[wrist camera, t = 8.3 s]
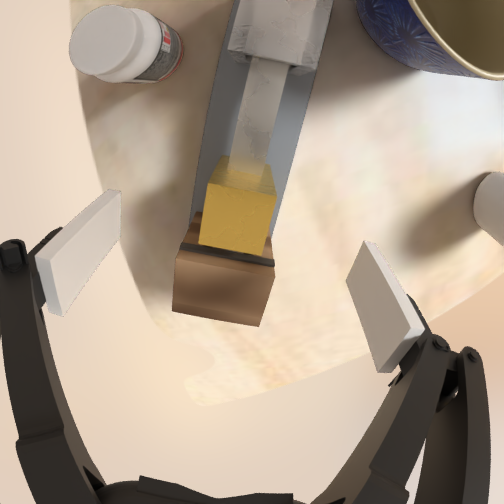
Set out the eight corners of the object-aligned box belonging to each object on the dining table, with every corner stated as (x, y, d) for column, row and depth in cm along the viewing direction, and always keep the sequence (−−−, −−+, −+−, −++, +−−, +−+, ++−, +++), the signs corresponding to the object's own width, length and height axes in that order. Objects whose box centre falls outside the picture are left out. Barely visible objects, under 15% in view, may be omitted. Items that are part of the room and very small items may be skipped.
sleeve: (255, -14, 17) (256, -51, 10) (317, 0, 17) (340, -31, 11) (234, 63, 21) (227, 49, 14) (297, 76, 21) (316, 69, 15)
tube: (256, 7, 17) (257, -30, 10) (306, 19, 17) (331, -13, 10) (205, 248, 28) (190, 304, 21) (247, 256, 28) (245, 313, 21)
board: (240, -17, 17) (240, -19, 16) (331, 4, 18) (333, 3, 17) (186, 252, 30) (185, 255, 30) (262, 266, 31) (262, 269, 30)
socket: (197, 206, 28) (175, 255, 20) (269, 221, 28) (275, 274, 21) (191, 253, 30) (171, 311, 22) (257, 265, 31) (258, 326, 23)
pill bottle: (177, 17, 18) (137, -18, 10) (191, 71, 21) (155, 60, 13) (118, 40, 19) (57, 24, 10) (131, 92, 22) (71, 98, 13)
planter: (438, 98, 21) (515, 114, 12) (326, 38, 19) (373, 7, 10) (462, 9, 15) (532, -1, 6) (359, -53, 13) (406, -102, 4)
